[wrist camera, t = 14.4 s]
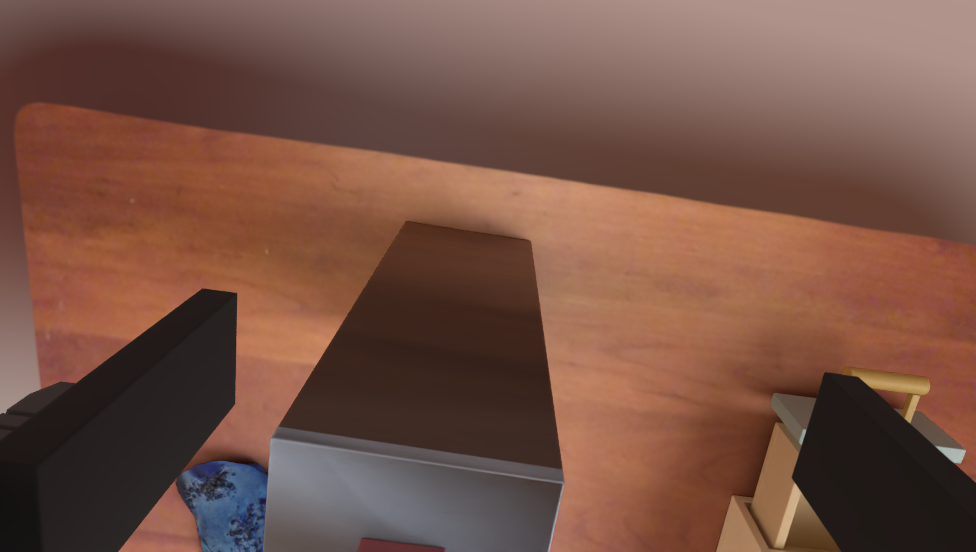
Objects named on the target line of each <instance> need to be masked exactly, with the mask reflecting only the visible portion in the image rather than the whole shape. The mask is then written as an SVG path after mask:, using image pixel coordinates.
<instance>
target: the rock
mask: <svg viewBox="0 0 976 552" xmlns="http://www.w3.org/2000/svg"><path fill="white" fill-rule="evenodd" d="M267 484H268V474H267V473H266V472H265V470H264V468H263V467H262V466H260V465H259V464H258V463H252V464H239V463H232V462H228V461H211V462H208V463H205V464H199V465H196V466H194V467H193V468H192V469H189V470H187V471H185V472H184V473H183V474H179V476H178V479H177V482H176V485H177V488H178V492H179V494H180V495H181V497H182V499H183V501H184V502H185V503H186V505H187V506H188V508H189V509H190V511H191V512H192V513H193V515H194V516H195V518H196V520H197V522H196V523H197V525H198V528H197V530H198V533H199V538H200V540H201V547H202V549H203V552H263V545H264V530H265V515H266V499H267Z"/></svg>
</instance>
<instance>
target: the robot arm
mask: <svg viewBox="0 0 976 552" xmlns="http://www.w3.org/2000/svg"><path fill="white" fill-rule="evenodd" d="M236 327H237V293H233V292H225V291H218V290H210V289H203V288H202V289H201V290H200V291H198V292H197V293H196V294H194V295H193V296H192V297H190V298H189V299H188V300H186V301H185V302H184V303H182V304H181V305H180V306H178V307H177V308H176V309H174V310H173V311H172V312H170V313H169V314H168V315H166V316H165V317H164V318H162V319H161V320H160V321H158V322H157V323H156V324H154V325H153V326H152V327H150V328H149V329H148V330H146V331H145V332H144V333H142V334H141V335H140V336H138V337H137V338H136V339H134V340H133V341H132V342H130V343H129V344H128V345H126V346H125V347H124V348H122V349H121V350H120V351H118V352H117V353H116V354H114V355H113V356H112V357H110V358H109V359H108V360H106V361H105V362H104V363H102V364H101V365H100V366H98V367H97V368H96V369H94V370H93V371H92V372H90V373H89V374H88V375H86V376H85V377H84V378H82V379H81V380H80V381H78V382H77V383H76V384H75V383H68V382H59V383H56V384H54V385H51V386H49V387H46V388H44V389H41V390H39V391H36V392H33V393H31V394H29V395H28V396H26V397H25V398H23V399H22V400H20V401H19V402H17V403H16V404H15V405H13V406H12V407H10V408H9V409H7V412H6V414H4V413H2V414H0V552H118V551H119V550H120V549H121V547H122V546H123V545H124V544H125V542H126V541H127V540H128V538H129V537H130V536H131V535H132V533H133V532H134V531H135V530H136V528H137V527H138V526H139V525H140V523H141V522H142V521H143V520H144V518H145V517H146V516H147V515H148V513H149V512H150V511H151V509H152V508H153V507H154V506H155V504H156V503H157V502H158V501H159V499H160V498H161V497H162V496H163V494H164V493H165V492H166V491H167V489H168V488H169V487H170V485H171V484H172V483H173V482H174V480H175V479H176V478H177V477H178V475H179V474H180V473H181V472H182V470H183V469H184V468H185V467H186V465H187V464H188V463H189V461H190V460H191V459H192V458H193V456H194V455H195V454H196V453H197V451H198V450H199V449H200V448H201V446H202V445H203V444H204V443H205V441H206V440H207V439H208V438H209V436H210V435H211V434H212V432H213V431H214V430H215V429H216V427H217V426H218V425H219V424H220V422H221V421H222V420H223V419H224V417H225V416H226V415H227V414H228V412H229V411H230V410H231V408H232V407H233V406H234V405H235V378H236ZM791 478H792V479H793V481H794V482H795V484H796V485H797V487H798V488H799V490H800V491H801V493H802V494H803V496H804V497H805V499H806V500H807V502H808V503H809V505H810V506H811V508H812V509H813V511H814V512H815V513H816V515H817V516H818V518H819V519H820V521H821V522H822V524H823V525H824V527H825V528H826V530H827V531H828V533H829V534H830V536H831V537H832V539H833V540H834V542H835V543H836V545H837V546H838V547H839V549H840V550H841V552H976V483H975V482H974V481H973V480H972V479H971V478H970V477H969V476H967V475H966V474H965V473H964V472H963V471H962V470H961V469H960V468H959V467H958V466H956V465H955V464H954V463H953V462H952V461H951V460H950V459H949V458H948V457H947V456H945V455H944V454H943V453H942V452H941V451H940V450H939V449H938V448H937V447H935V446H934V445H933V444H932V443H931V442H930V441H929V440H928V439H927V438H926V437H924V436H923V435H922V434H921V433H920V432H919V431H918V430H917V429H916V428H915V427H913V426H912V425H911V424H910V423H909V422H908V421H907V420H906V419H905V418H903V417H902V416H901V415H900V414H899V413H898V412H897V411H896V410H895V409H894V408H892V407H891V406H890V405H889V404H888V403H887V402H886V401H885V400H884V399H883V398H881V397H880V396H879V395H878V394H877V393H876V392H875V391H874V390H873V389H872V388H870V387H869V386H868V385H867V384H866V383H865V382H864V381H863V380H862V379H860V378H859V377H857V376H849V375H842V374H834V373H827V372H825V373H824V376H823V379H822V382H821V386H820V389H819V392H818V395H817V398H816V401H815V404H814V408H813V411H812V414H811V417H810V420H809V423H808V427H807V430H806V433H805V436H804V439H803V442H802V446H801V449H800V452H799V455H798V458H797V461H796V464H795V468H794V471H793V474H792V477H791Z"/></svg>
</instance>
